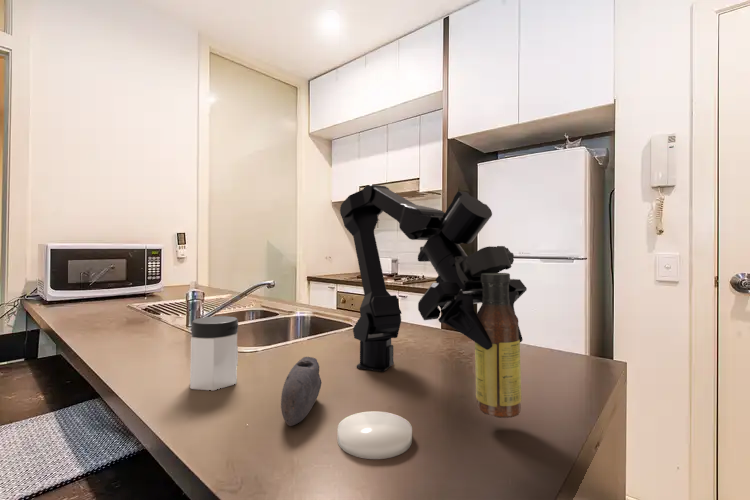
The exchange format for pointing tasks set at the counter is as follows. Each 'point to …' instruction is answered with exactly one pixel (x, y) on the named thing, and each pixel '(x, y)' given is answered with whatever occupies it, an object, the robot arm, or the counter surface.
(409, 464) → the counter surface
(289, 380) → the perforated stone tool
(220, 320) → the jar
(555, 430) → the counter surface
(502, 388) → the sauce bottle
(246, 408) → the counter surface
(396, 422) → the coaster
